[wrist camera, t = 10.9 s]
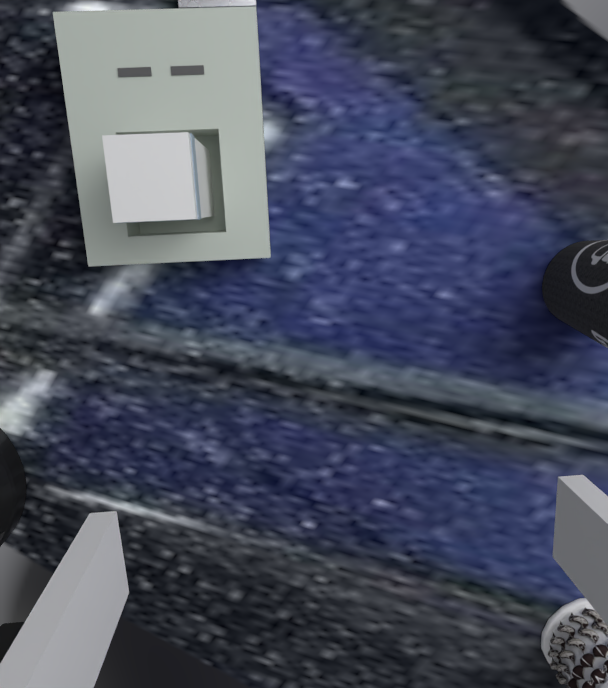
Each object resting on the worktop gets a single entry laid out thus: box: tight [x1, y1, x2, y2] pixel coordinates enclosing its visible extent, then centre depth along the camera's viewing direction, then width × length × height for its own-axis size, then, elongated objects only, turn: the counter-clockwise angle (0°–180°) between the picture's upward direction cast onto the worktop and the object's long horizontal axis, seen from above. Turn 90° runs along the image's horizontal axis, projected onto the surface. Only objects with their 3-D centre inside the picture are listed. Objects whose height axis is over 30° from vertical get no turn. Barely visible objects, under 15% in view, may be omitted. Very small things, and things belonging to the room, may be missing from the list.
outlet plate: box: [53, 6, 271, 266], centre depth 36 cm, size 15×12×4 cm
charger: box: [102, 132, 215, 223], centre depth 34 cm, size 4×4×10 cm
